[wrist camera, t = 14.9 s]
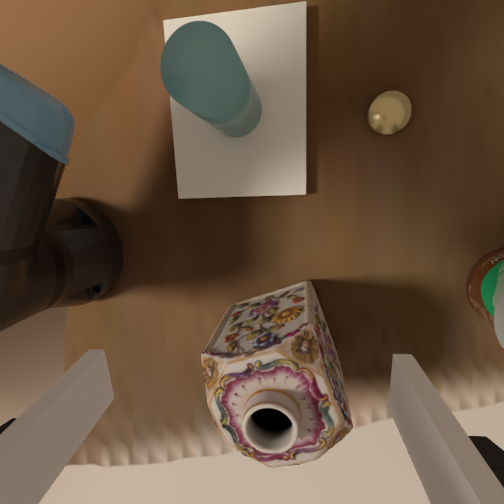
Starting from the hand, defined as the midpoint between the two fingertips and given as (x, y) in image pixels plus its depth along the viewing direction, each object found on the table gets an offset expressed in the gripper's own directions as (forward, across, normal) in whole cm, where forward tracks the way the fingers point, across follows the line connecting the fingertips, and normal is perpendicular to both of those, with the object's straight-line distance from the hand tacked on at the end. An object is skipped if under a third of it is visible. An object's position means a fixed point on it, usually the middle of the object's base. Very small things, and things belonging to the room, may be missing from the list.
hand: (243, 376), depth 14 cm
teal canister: (+26, -3, +16) cm, 31 cm away
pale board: (+28, -3, +16) cm, 32 cm away
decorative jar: (+26, +2, -12) cm, 29 cm away
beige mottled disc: (+27, +14, +14) cm, 33 cm away
